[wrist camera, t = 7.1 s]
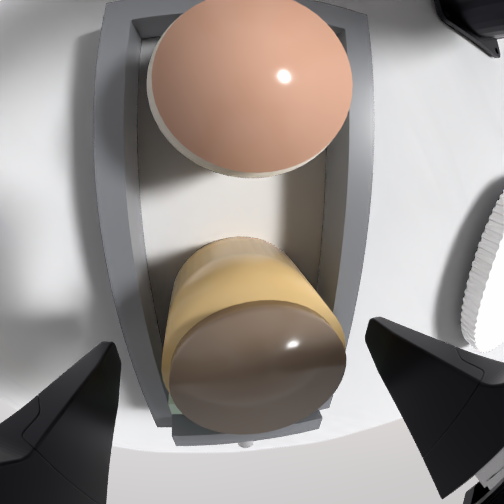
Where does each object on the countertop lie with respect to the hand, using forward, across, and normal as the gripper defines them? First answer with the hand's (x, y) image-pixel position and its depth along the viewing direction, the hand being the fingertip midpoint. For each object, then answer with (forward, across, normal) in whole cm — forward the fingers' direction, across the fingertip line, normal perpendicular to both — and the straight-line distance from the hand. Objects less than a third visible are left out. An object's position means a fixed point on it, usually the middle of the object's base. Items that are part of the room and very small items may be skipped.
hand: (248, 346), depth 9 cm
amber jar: (+3, 0, 0) cm, 3 cm away
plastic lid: (+4, -21, 0) cm, 21 cm away
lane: (+3, 0, -3) cm, 4 cm away
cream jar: (+3, 0, -8) cm, 9 cm away
